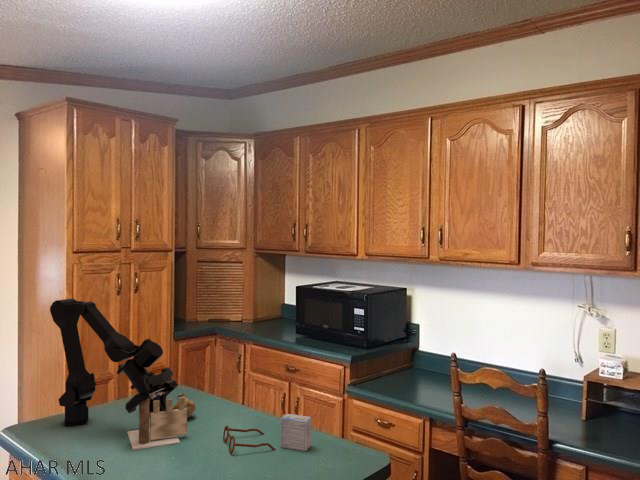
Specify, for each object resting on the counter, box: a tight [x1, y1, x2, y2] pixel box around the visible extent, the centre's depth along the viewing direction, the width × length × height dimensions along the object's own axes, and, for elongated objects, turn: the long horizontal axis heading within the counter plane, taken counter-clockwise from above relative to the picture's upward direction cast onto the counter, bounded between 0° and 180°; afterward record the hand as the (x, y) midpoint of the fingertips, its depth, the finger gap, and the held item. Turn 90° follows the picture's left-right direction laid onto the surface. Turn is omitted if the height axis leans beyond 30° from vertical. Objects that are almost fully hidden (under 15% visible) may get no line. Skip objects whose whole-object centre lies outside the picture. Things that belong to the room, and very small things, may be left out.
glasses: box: [222, 425, 277, 455], centre depth 160 cm, size 13×13×5 cm
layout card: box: [126, 428, 181, 451], centre depth 164 cm, size 13×14×1 cm
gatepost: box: [138, 398, 150, 444], centre depth 159 cm, size 3×3×14 cm
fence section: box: [149, 396, 188, 440], centre depth 162 cm, size 10×1×11 cm, turn 118°
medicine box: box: [280, 413, 312, 452], centre depth 159 cm, size 8×4×9 cm, turn 71°
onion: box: [172, 392, 196, 419], centre depth 181 cm, size 8×8×8 cm
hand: (168, 418), depth 163 cm, fingers closed
